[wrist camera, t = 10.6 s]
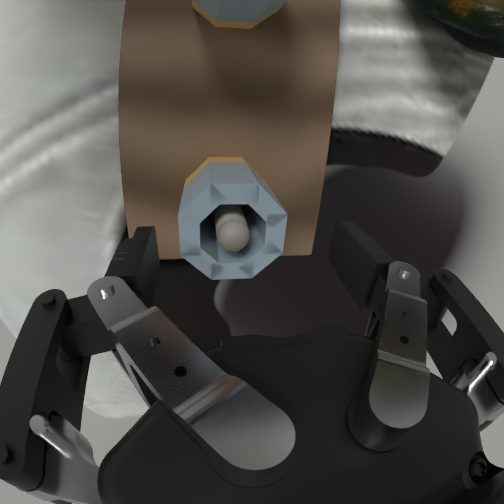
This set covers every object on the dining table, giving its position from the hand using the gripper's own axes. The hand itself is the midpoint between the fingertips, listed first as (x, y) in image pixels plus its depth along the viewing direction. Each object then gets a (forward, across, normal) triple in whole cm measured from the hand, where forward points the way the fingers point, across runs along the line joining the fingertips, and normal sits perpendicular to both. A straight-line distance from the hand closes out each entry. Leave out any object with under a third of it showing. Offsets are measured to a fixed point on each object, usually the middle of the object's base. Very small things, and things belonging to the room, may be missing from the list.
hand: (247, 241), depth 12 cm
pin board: (+10, 0, -6) cm, 12 cm away
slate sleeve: (+8, 0, +1) cm, 8 cm away
